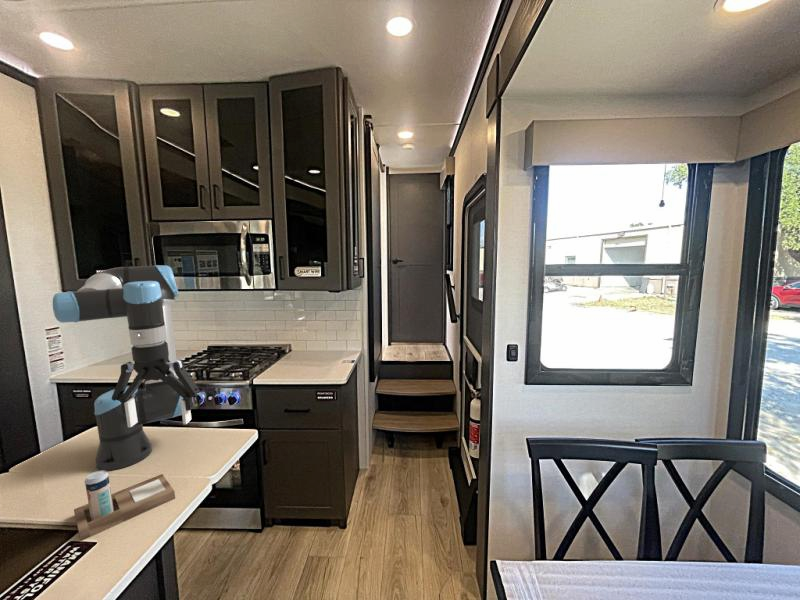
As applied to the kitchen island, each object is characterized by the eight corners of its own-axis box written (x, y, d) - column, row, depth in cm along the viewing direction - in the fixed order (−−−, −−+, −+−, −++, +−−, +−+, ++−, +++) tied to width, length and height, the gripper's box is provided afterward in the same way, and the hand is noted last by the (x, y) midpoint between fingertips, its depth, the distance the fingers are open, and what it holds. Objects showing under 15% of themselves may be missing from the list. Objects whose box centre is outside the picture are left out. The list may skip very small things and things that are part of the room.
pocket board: (75, 517, 96) (73, 508, 96) (163, 480, 110) (162, 473, 110) (80, 540, 88) (79, 531, 87) (175, 498, 102) (174, 490, 102)
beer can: (100, 511, 98) (93, 470, 96) (119, 510, 98) (112, 468, 96) (86, 525, 93) (79, 481, 91) (106, 523, 93) (99, 479, 92)
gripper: (85, 349, 87) (98, 433, 90) (193, 345, 89) (203, 427, 92) (108, 341, 95) (120, 419, 98) (207, 337, 96) (216, 414, 99)
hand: (160, 423), depth 95 cm, fingers open, 13 cm apart
